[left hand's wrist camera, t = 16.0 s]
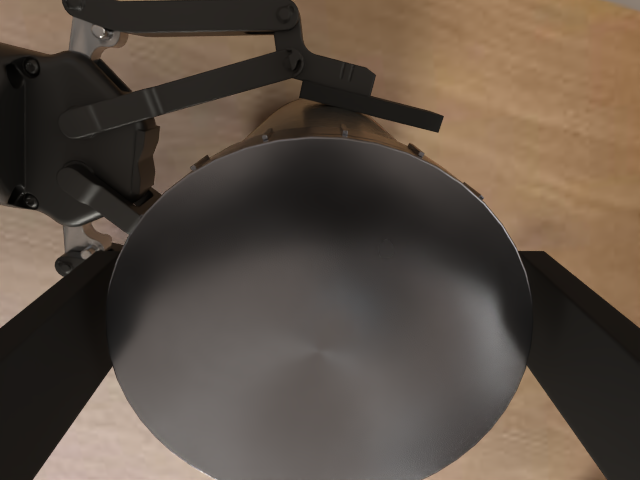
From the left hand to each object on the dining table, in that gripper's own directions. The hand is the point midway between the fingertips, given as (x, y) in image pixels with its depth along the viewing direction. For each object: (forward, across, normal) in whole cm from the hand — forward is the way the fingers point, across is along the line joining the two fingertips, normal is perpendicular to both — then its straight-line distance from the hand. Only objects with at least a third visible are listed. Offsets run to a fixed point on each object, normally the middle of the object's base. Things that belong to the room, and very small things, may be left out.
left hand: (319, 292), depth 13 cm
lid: (-3, 0, 0) cm, 3 cm away
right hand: (+10, -4, +1) cm, 11 cm away
